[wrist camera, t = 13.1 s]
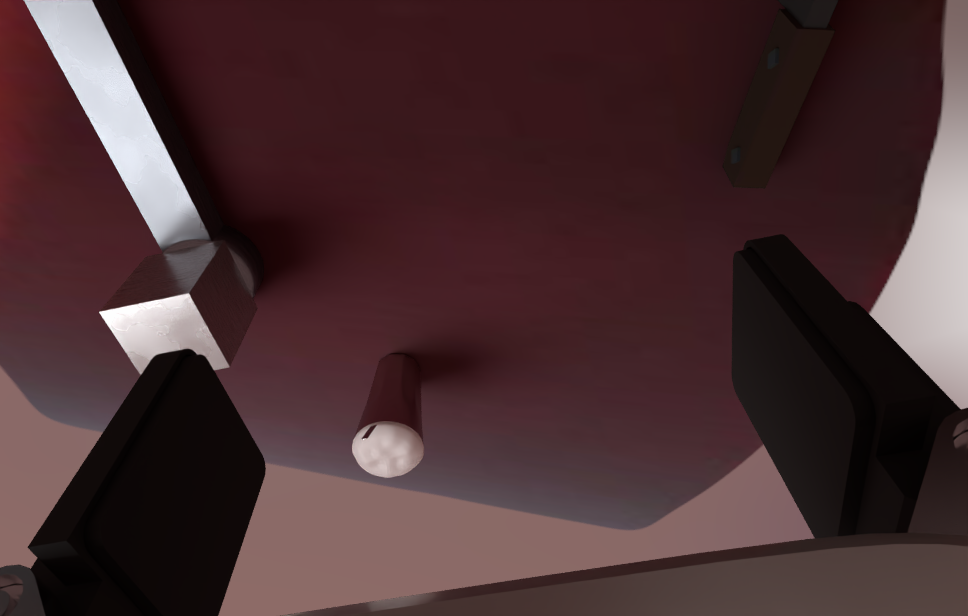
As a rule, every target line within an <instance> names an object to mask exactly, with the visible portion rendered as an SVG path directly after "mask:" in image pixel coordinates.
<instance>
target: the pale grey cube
mask: <svg viewBox="0 0 968 616" xmlns="http://www.w3.org/2000/svg"><path fill="white" fill-rule="evenodd" d="M257 309H258V308H257V306H256V304H255V302H254V300H253V298H252V296H251V294H250V291H249V289H248V287H247V285H246V283H245V281H244V279H243V277H242V275H241V273H240V271H239V269H238V267H237V265H236V263H235V261H234V259H233V257H232V255H231V253H230V251H229V249H228V247H227V245H226V243H225V241H224V240H222V241H218V242H213V243H208V244H203V245H199V246H194V247H189V248H185V249H180V250H175V251H171V252H166V253H161V254H157V255H152V256H147V257H145V258H144V260H143V261H142V262H141V263H140V264H139V266H138V267H137V268H136V269H135V270H134V271H133V273H132V274H131V275H130V276H129V277H128V279H127V280H126V281H125V282H124V283H123V284H122V286H121V287H120V288H119V289H118V290H117V291H116V293H115V294H114V295H113V296H112V297H111V299H110V300H109V301H108V302H107V303H106V304H105V306H104V307H103V308H102V309H101V310H100V312H99V313H100V314H101V316H102V317H103V319H104V320H105V322H106V323H107V325H108V326H109V328H110V329H111V331H112V332H113V334H114V335H115V337H116V338H117V340H118V341H119V343H120V344H121V346H122V347H123V349H124V350H125V352H126V353H127V355H128V356H129V358H130V359H131V361H132V362H133V364H134V365H135V367H136V368H137V370H138V371H139V373H140V374H142V373H143V371H144V370H145V368H146V367H147V365H148V364H149V362H150V361H151V359H152V358H153V357H154V356H155V355H157V354H161V353H166V352H171V351H177V350H182V349H187V348H188V349H192V350H193V351H194V352H196V354H197V355H198V354H201V355H204V356H205V357H206V358H207V360H208V361H209V363H210V364H211V366H212V368H213V370H218V369H223V368H228V367H230V366H231V363H232V361H233V359H234V357H235V355H236V353H237V351H238V349H239V347H240V345H241V342H242V340H243V338H244V336H245V334H246V332H247V330H248V328H249V326H250V324H251V321H252V319H253V317H254V315H255V313H256V311H257Z"/></svg>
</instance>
